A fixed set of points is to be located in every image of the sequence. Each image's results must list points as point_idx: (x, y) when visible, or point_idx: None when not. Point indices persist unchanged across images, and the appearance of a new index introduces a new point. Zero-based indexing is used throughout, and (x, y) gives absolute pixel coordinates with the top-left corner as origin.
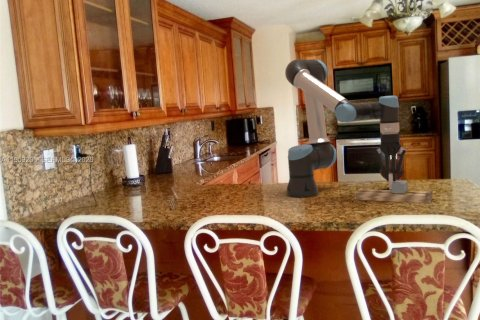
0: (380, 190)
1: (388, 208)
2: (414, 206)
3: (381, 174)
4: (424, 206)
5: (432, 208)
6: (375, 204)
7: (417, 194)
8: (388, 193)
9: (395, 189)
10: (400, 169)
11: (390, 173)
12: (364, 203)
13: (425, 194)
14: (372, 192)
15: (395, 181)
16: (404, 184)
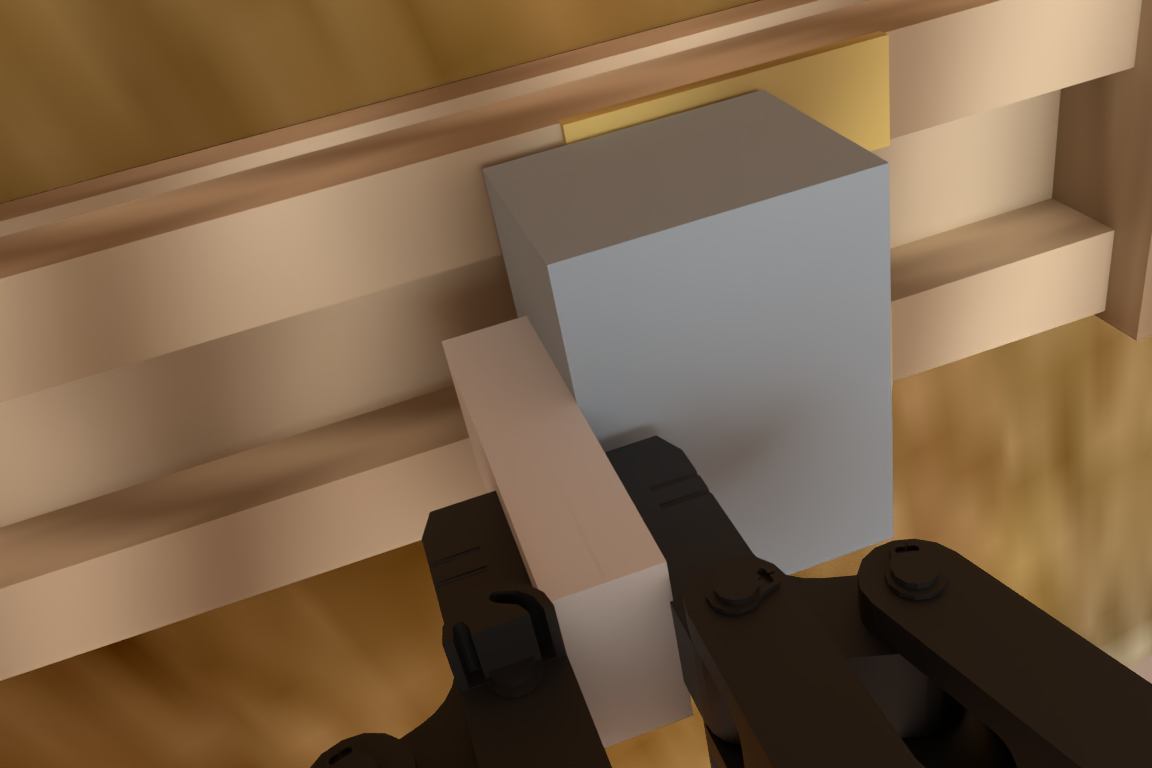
0: (121, 293)
1: (648, 747)
2: (905, 513)
3: None
4: (1015, 450)
5: (1102, 485)
6: (394, 699)
7: (980, 302)
8: (474, 478)
9: None
10: (979, 613)
11: (589, 650)
12: (206, 744)
13: (1117, 327)
14: (111, 563)
15: (611, 376)
16: (885, 520)
